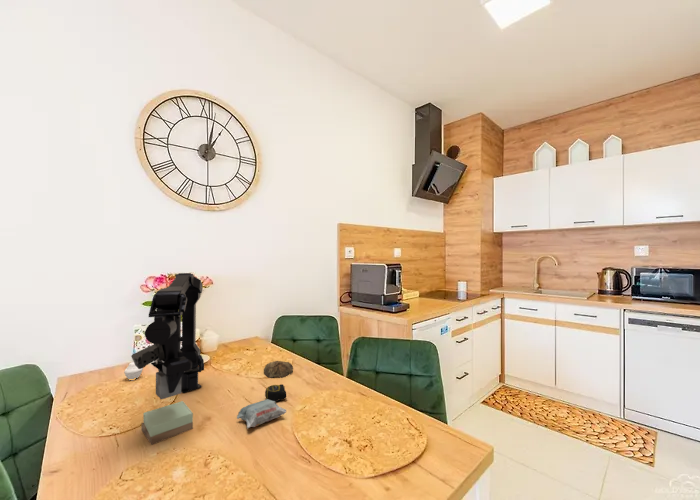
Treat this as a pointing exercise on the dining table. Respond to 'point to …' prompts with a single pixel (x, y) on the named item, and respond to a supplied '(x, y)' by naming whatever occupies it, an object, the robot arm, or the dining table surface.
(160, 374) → the grey block
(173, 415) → the top block
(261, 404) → the packaged food
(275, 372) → the bread roll
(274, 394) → the tape measure
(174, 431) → the bottom block
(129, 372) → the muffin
